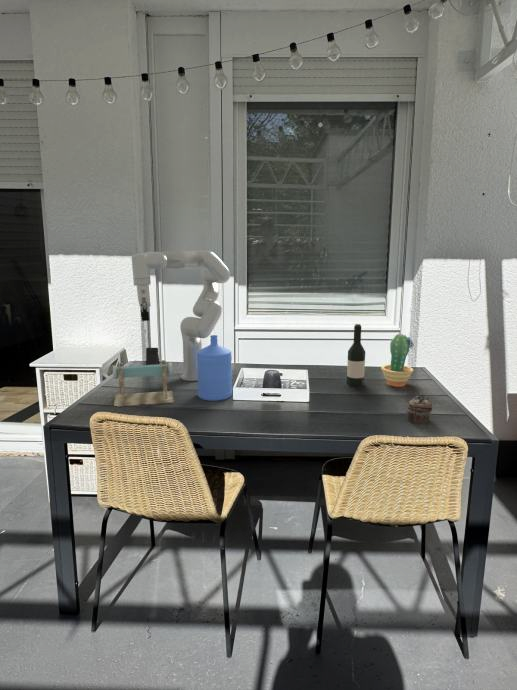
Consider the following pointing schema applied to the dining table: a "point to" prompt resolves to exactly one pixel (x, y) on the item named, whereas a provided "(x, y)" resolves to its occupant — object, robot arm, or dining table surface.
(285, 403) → the dining table surface
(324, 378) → the dining table surface
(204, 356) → the water jug
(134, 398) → the stand
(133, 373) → the teal long bar
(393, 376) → the potted cactus
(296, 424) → the dining table surface
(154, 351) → the phone stand
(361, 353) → the wine bottle
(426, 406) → the cupcake
